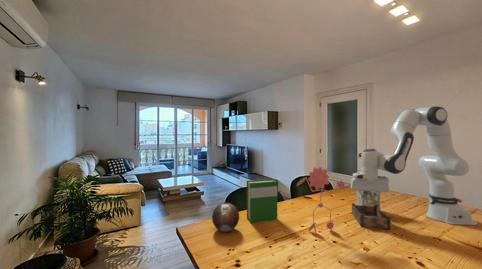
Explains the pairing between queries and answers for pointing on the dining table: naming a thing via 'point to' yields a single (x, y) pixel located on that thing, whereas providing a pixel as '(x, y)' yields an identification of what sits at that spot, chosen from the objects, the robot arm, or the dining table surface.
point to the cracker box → (361, 202)
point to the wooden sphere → (225, 217)
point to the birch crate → (370, 197)
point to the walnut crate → (370, 217)
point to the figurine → (319, 180)
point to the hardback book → (261, 200)
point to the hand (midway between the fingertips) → (369, 198)
